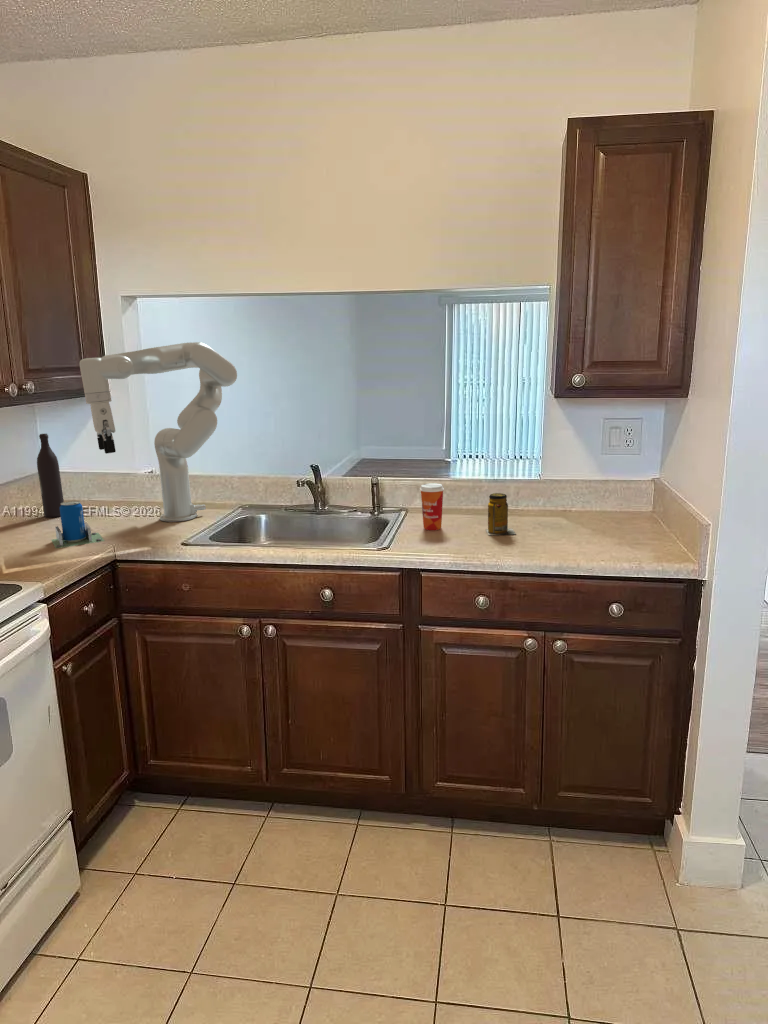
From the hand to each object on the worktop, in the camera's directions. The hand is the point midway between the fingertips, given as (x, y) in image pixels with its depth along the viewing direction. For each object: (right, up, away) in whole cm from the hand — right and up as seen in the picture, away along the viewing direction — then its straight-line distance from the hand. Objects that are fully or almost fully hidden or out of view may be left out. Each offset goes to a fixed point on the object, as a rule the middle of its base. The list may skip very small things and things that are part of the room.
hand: (107, 450), depth 230 cm
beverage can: (-7, -29, -8) cm, 31 cm away
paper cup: (+105, -25, -2) cm, 108 cm away
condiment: (+125, -26, -9) cm, 129 cm away
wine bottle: (-31, -21, +31) cm, 48 cm away
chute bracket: (-7, -29, -8) cm, 31 cm away
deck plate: (-6, -30, -7) cm, 31 cm away
